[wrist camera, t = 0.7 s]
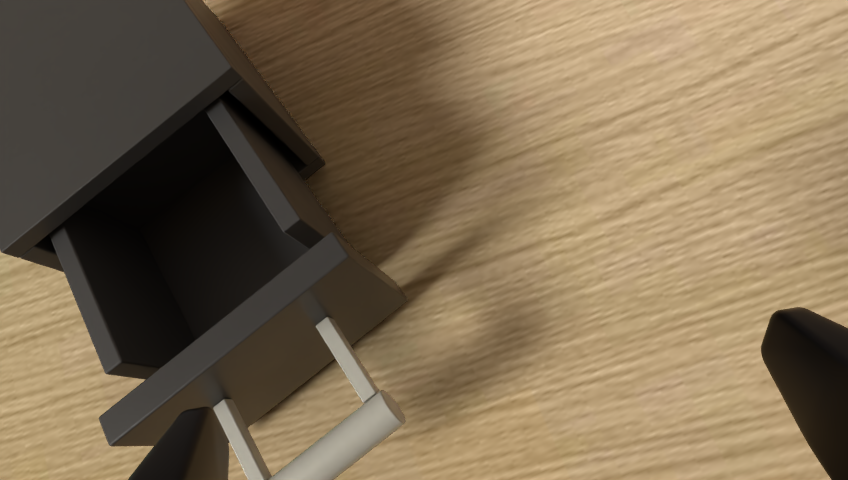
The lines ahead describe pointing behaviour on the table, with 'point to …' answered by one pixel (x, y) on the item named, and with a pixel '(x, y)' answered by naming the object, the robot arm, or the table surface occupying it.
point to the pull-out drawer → (225, 292)
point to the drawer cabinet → (109, 102)
